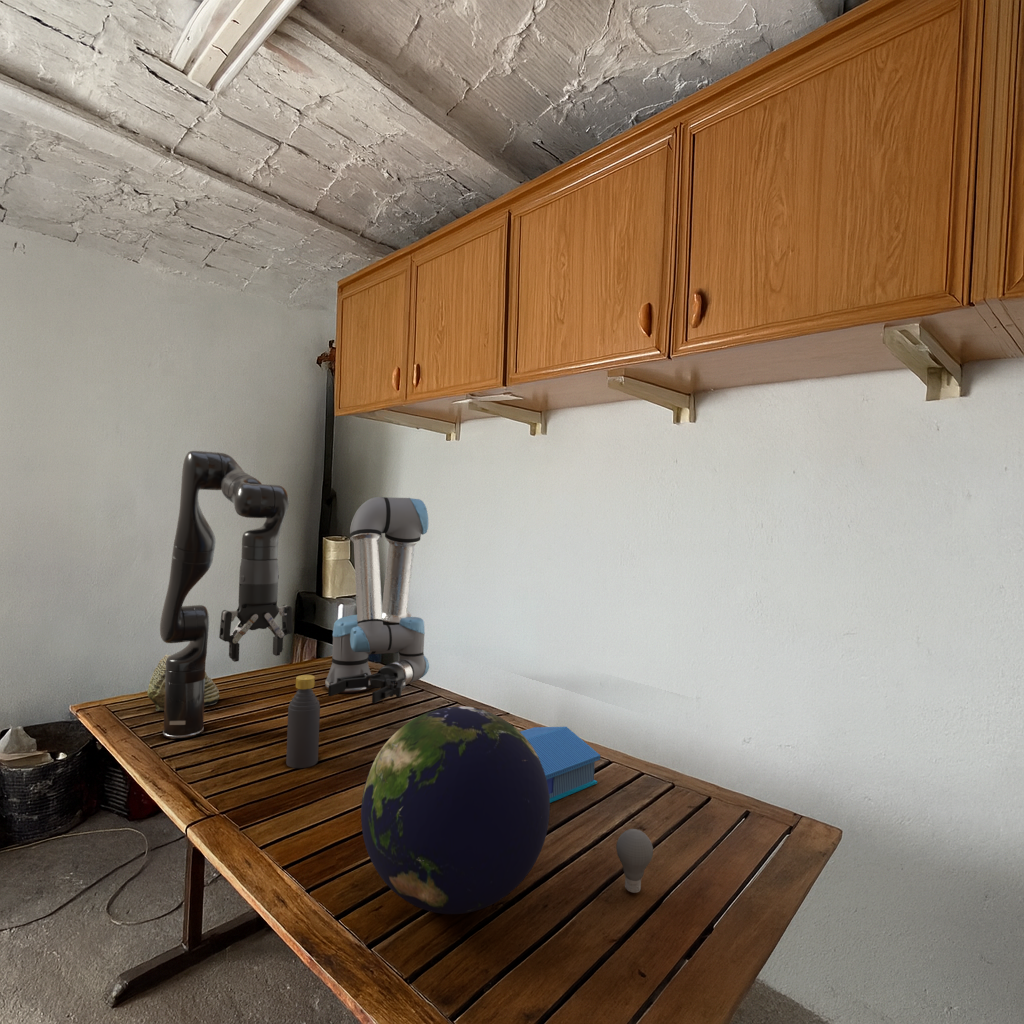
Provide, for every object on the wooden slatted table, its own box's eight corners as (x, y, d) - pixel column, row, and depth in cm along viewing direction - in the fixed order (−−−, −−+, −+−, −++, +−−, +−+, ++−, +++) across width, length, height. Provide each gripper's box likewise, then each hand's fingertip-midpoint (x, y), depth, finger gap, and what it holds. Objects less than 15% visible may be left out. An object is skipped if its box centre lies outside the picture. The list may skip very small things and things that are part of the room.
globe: (316, 925, 94) (323, 724, 93) (419, 831, 121) (425, 675, 121) (501, 992, 83) (511, 764, 82) (568, 871, 110) (576, 700, 110)
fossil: (144, 707, 182) (145, 655, 182) (212, 696, 194) (213, 647, 194) (151, 716, 175) (153, 662, 175) (221, 703, 188) (223, 653, 188)
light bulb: (610, 879, 108) (613, 822, 108) (644, 879, 109) (647, 822, 109) (619, 902, 102) (622, 840, 102) (655, 901, 103) (658, 840, 103)
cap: (293, 689, 148) (293, 679, 148) (297, 684, 152) (298, 674, 152) (312, 689, 148) (312, 680, 148) (316, 684, 153) (316, 674, 153)
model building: (474, 846, 117) (476, 792, 117) (402, 796, 135) (404, 749, 135) (608, 788, 143) (610, 744, 143) (533, 753, 161) (535, 714, 161)
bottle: (282, 768, 147) (285, 683, 146) (290, 755, 154) (293, 674, 153) (314, 768, 147) (317, 683, 147) (320, 755, 155) (323, 674, 154)
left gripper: (284, 576, 139) (281, 649, 139) (216, 579, 129) (213, 658, 130) (299, 580, 134) (296, 656, 134) (230, 584, 124) (227, 667, 124)
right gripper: (431, 694, 181) (391, 715, 161) (357, 683, 190) (311, 702, 170) (432, 668, 181) (392, 686, 161) (358, 658, 190) (312, 674, 170)
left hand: (256, 657), depth 132 cm, fingers open, 8 cm apart
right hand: (351, 694), depth 166 cm, fingers open, 13 cm apart
